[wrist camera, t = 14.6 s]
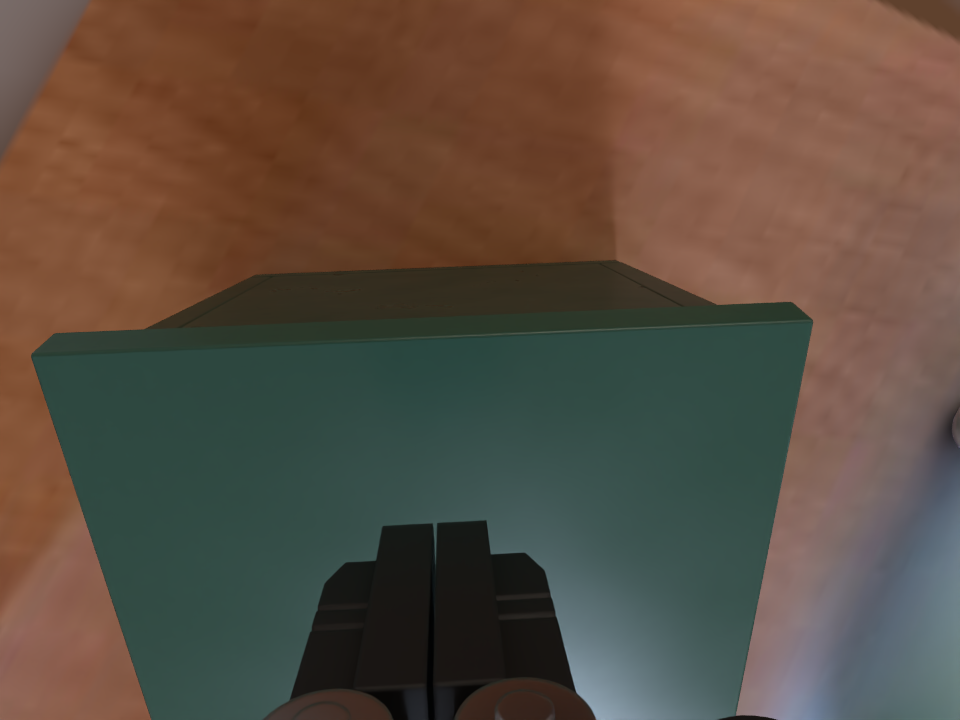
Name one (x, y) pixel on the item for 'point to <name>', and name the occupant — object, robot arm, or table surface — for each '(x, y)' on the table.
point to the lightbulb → (956, 428)
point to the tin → (432, 294)
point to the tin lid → (435, 483)
